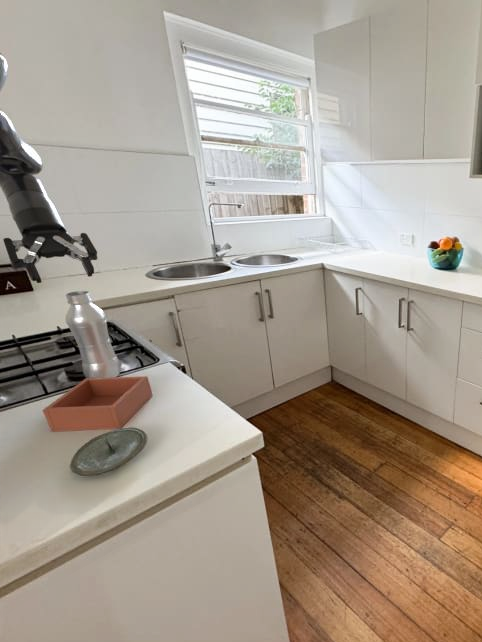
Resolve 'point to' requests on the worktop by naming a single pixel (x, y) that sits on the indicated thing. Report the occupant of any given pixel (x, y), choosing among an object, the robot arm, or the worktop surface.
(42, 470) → the worktop surface
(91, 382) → the caddy
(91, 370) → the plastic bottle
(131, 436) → the lid
